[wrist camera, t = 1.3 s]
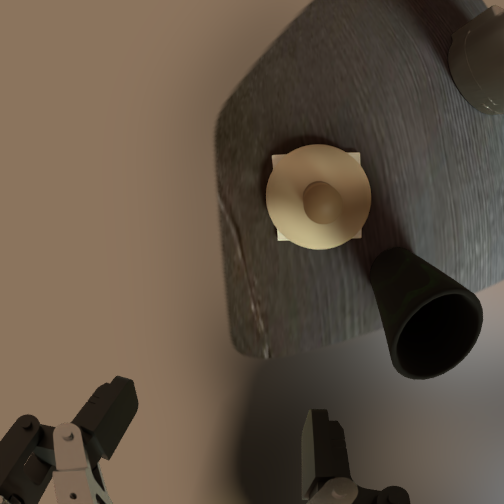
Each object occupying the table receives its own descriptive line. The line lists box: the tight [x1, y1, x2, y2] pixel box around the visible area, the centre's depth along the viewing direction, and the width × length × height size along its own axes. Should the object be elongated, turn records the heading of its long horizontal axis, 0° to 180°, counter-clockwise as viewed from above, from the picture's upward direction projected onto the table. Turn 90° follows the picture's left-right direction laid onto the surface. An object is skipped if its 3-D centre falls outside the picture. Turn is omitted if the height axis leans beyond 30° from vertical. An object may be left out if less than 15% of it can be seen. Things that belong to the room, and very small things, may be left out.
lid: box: [266, 144, 371, 249], centre depth 23 cm, size 10×10×5 cm
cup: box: [370, 247, 483, 380], centre depth 21 cm, size 8×8×12 cm
